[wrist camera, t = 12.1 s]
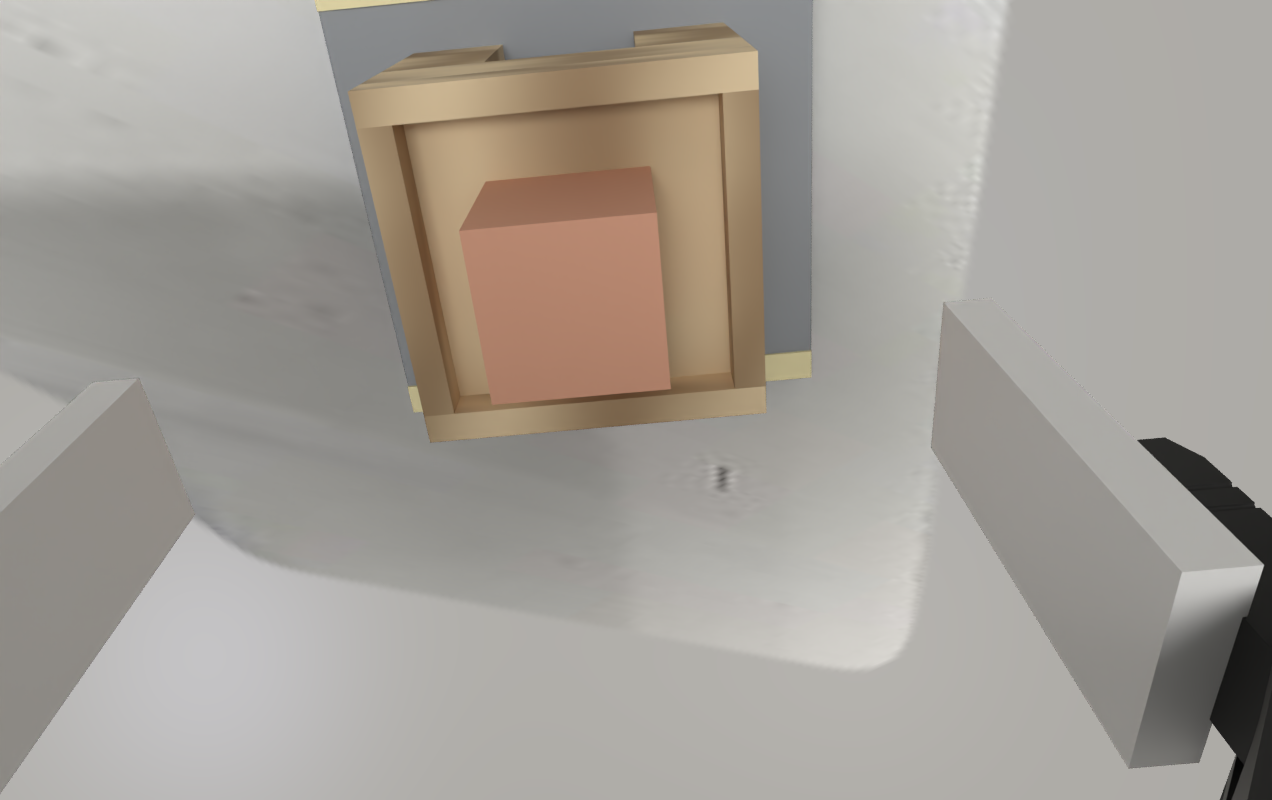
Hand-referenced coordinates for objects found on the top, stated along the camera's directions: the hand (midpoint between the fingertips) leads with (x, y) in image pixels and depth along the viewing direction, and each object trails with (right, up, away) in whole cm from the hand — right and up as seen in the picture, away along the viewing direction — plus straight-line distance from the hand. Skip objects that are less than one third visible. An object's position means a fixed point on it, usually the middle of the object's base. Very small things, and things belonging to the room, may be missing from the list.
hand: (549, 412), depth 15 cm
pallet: (0, +7, +13) cm, 14 cm away
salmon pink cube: (0, +4, +7) cm, 8 cm away
